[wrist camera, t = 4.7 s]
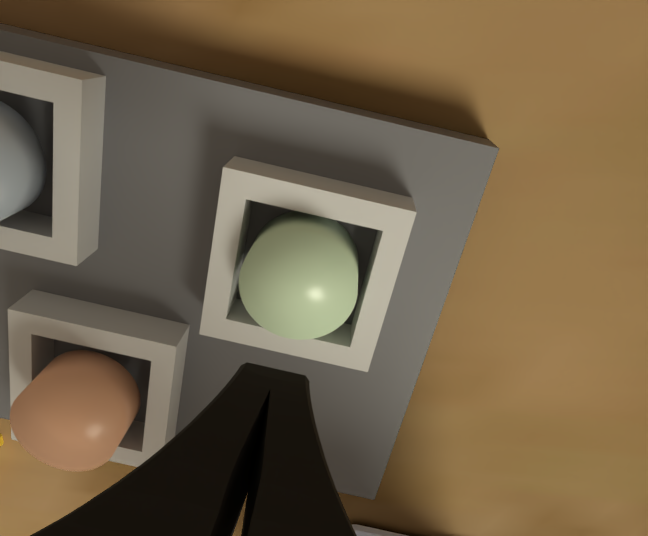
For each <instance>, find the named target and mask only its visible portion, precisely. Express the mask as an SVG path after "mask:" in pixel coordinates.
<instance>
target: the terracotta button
mask: <svg viewBox="0 0 648 536" xmlns="http://www.w3.org/2000/svg"><path fill="white" fill-rule="evenodd" d="M140 402H141V398H140V392H139V388H138V386H137V384H136V382H135V380H134V378H133V377H132V375H131V374H130V373H129V372H128V371H127V370H126V369H125V368H124V367H123V366H122V365H121V364H120V363H118V362H117V361H115V360H114V359H112V358H110V357H108V356H106V355H103V354H101V353H97V352H93V351H88V350H74V351H69V352H65V353H63V354H61V355H59V356H57V357H56V358H54V359H53V360H52V361H51V362H50V363H49V364H48V365H47V366H46V367H45V368H44V369H43V370H42V371H41V372H40V373H39V374H38V376H37V377H36V378H35V379H34V380H33V381H32V382H31V383H30V384H29V385H28V386H27V387H26V388H25V389H24V390H23V391H22V392H21V393H20V394H19V395H18V397H17V398H16V399H15V400H14V402H13V404H12V406H11V410H10V424H11V428H12V431H13V433H14V435H15V437H16V439H17V440H18V442H19V443H20V444H21V445H22V447H23V448H24V449H25V450H26V451H27V452H29V453H30V454H31V455H32V456H34V457H35V458H36V459H38V460H40V461H41V462H43V463H45V464H47V465H49V466H52V467H55V468H58V469H62V470H67V471H87V470H91V469H95V468H97V467H100V466H101V465H103V464H105V463H106V462H107V461H108V460H109V459H110V458H111V457H112V455H113V454H114V452H115V450H116V449H117V447H118V445H119V444H120V442H121V440H122V439H123V437H124V435H125V434H126V432H127V430H128V429H129V427H130V425H131V424H132V422H133V420H134V419H135V417H136V415H137V413H138V411H139V408H140Z"/></svg>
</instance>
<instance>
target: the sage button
mask: <svg viewBox="0 0 648 536" xmlns="http://www.w3.org/2000/svg"><path fill="white" fill-rule="evenodd" d="M358 267H359V260H358V252H357V248H356V246H355V243H354V241H353V239H352V237H351V236H350V234H349V233H348V232H347V230H346V229H345V228H344V227H343V226H342V225H341V224H339V223H338V222H337V221H335V220H333V219H329V218H325V217H321V216H316V215H312V214H308V213H303V212H299V211H292V212H288V213H285V214H282V215H280V216H278V217H276V218H274V219H273V220H271V221H270V222H268V223H267V224H266V225H265V226H264V227H263V228H262V230H261V231H260V232H259V234H258V235H257V237H256V239H255V241H254V243H253V245H252V247H251V248H250V250H249V252H248V254H247V256H246V258H245V260H244V262H243V264H242V267H241V270H240V274H239V291H240V296H241V299H242V302H243V304H244V306H245V308H246V310H247V311H248V313H249V314H250V316H251V317H252V318H253V319H254V320H255V321H256V322H257V323H258V324H259V325H260V326H262V327H263V328H265V329H266V330H268V331H270V332H271V333H273V334H276V335H278V336H281V337H285V338H289V339H296V340H306V339H314V338H318V337H321V336H324V335H327V334H329V333H331V332H332V331H334V330H336V329H337V328H338V327H340V326H341V325H342V324H343V323H344V322H345V321H346V320H347V318H348V317H349V316H350V314H351V313H352V311H353V309H354V306H355V303H356V300H357V295H358Z"/></svg>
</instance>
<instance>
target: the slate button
mask: <svg viewBox="0 0 648 536" xmlns="http://www.w3.org/2000/svg"><path fill="white" fill-rule="evenodd" d="M46 171H47V169H46V159H45V154H44V151H43V148H42V145H41V143H40V141H39V139H38V137H37V135H36V133H35V132H34V130H33V129H32V127H31V126H30V125H29V123H28V122H27V121H26V120H25V119H24V118H23V117H22V116H21V115H20V114H19V113H18V112H17V111H15V110H14V109H13V108H11V107H10V106H8V105H7V104H5V103H3V102H1V101H0V221H2V220H3V219H5V218H7V217H9V216H11V215H13V214H15V213H17V212H19V211H21V210H23V209H25V208H26V207H28V206H30V205H31V204H32V203H33V202H34V201H35V200H36V199H37V198H38V197H39V195H40V193H41V192H42V189H43V187H44V184H45V180H46Z"/></svg>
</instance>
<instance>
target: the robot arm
mask: <svg viewBox="0 0 648 536" xmlns="http://www.w3.org/2000/svg"><path fill="white" fill-rule="evenodd" d="M247 493H248V494H247ZM246 495H247V501H246V508H245V514H244V521H243V528H242V534H241V536H408V535H403V534H398V533H394V532H389V531H385V530H380V529H376V528H371V527H366V526H362V525H357V524H352V525H351V523H350V520H349V518H348V516H347V514H346V511H345V509H344V507H343V504H342V502H341V500H340V497H339V495H338V492H337V490H336V487H335V484H334V481H333V479H332V476H331V473H330V471H329V468H328V465H327V462H326V459H325V455H324V452H323V448H322V445H321V442H320V438H319V435H318V431H317V427H316V423H315V419H314V414H313V409H312V403H311V397H310V386H309V380H308V378H307V377H306V375H302V374H297V373H293V372H288V371H284V370H279V369H275V368H271V367H266V366H262V365H257V364H253V363H248V362H246V363H245V364H243V365H241V366H240V367H239V369H238V370H237V372H236V373H235V374H234V376H233V377H232V378H231V380H230V381H229V382H228V383H227V384H226V386H225V387H224V388H223V389H222V390H221V391H220V392H219V394H218V395H217V396H216V397H215V398H214V399H213V400H212V401H211V402H210V403H209V404H208V405H207V406H206V407H205V408H204V409H203V410H202V411H201V412H200V413H199V414H198V415H197V416H196V417H195V418H194V419H193V420H192V421H191V422H190V423H189V424H188V425H187V426H186V427H185V428H184V429H183V430H181V431H180V432H179V433H178V434H177V435H176V436H175V437H173V438H172V439H171V440H170V441H169V442H168V443H167V444H166V445H164V446H163V447H162V448H161V449H160V450H159V451H157V452H156V453H155V454H154V455H152V456H151V457H150V458H149V459H147V460H146V461H145V462H144V463H142V464H141V465H140V466H138V467H137V468H136V469H134V470H133V471H132V472H130V473H129V474H128V475H126V476H125V477H124V478H122V479H121V480H120V481H118V482H117V483H115V484H114V485H112V486H111V487H109V488H108V489H106V490H105V491H103V492H102V493H100V494H99V495H97V496H96V497H94V498H93V499H91V500H90V501H88V502H87V503H85V504H84V505H82V506H81V507H79V508H77V509H76V510H74V511H73V512H71V513H69V514H68V515H66V516H64V517H63V518H61V519H59V520H58V521H56V522H54V523H52V524H50V525H49V526H47V527H45V528H43V529H41V530H40V531H38V532H36V533H34V534H32V535H31V536H232V535H233V532H234V529H235V526H236V524H237V521H238V518H239V515H240V512H241V510H242V507H243V504H244V501H245V498H246Z"/></svg>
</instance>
